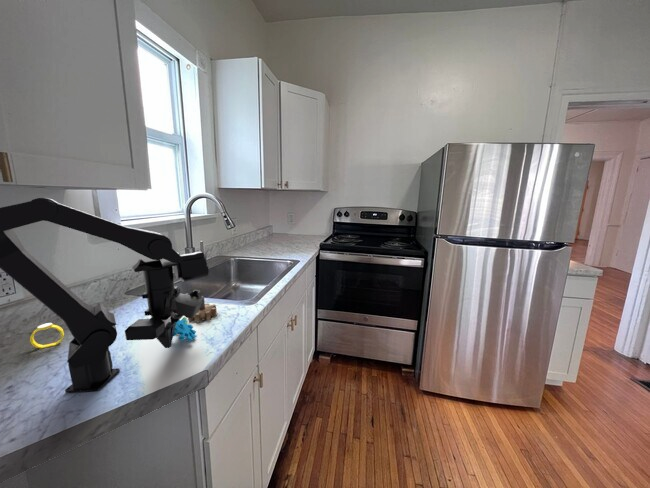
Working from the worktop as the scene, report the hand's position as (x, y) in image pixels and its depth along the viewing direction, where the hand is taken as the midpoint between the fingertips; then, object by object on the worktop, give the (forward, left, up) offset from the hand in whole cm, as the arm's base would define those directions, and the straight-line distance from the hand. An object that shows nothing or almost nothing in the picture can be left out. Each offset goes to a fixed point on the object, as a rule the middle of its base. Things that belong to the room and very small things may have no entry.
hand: (168, 347), depth 64 cm
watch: (+7, +34, -2) cm, 34 cm away
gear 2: (+22, 0, -2) cm, 22 cm away
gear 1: (+8, +1, -2) cm, 8 cm away
